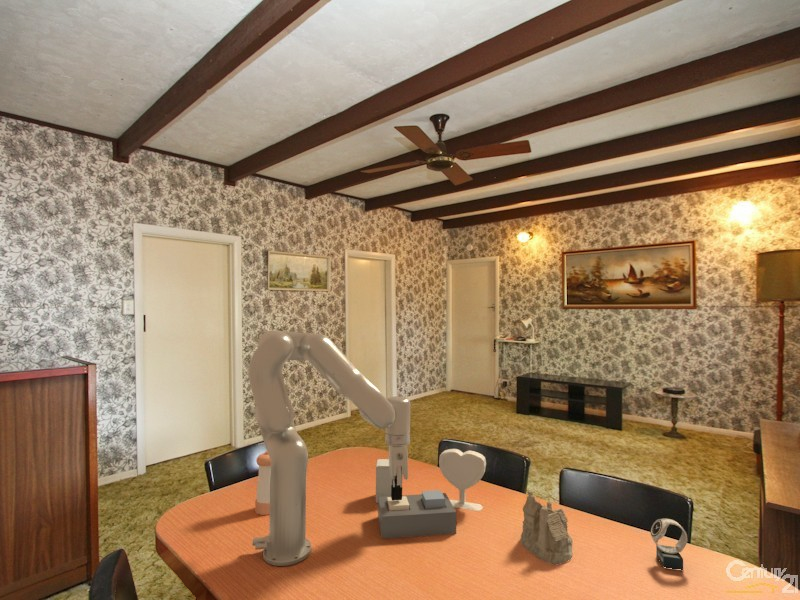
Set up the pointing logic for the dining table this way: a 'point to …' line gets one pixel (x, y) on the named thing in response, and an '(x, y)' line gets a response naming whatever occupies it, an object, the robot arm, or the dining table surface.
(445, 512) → the control pad
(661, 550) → the watch
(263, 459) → the pepper shaker
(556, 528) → the ceramic cottage
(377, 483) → the supplement box
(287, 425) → the robot arm
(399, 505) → the cream key
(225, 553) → the dining table surface
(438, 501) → the slate blue key
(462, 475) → the heart sculpture
